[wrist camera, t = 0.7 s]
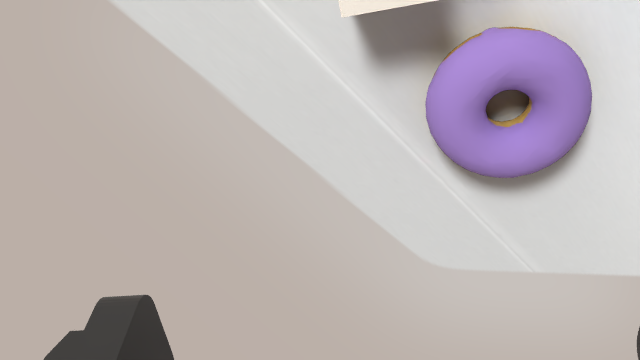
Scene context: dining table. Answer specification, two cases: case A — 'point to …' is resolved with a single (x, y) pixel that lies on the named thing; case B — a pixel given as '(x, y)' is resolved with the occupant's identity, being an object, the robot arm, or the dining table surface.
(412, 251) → the dining table surface
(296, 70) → the dining table surface
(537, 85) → the donut
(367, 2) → the die
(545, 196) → the dining table surface
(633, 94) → the dining table surface
